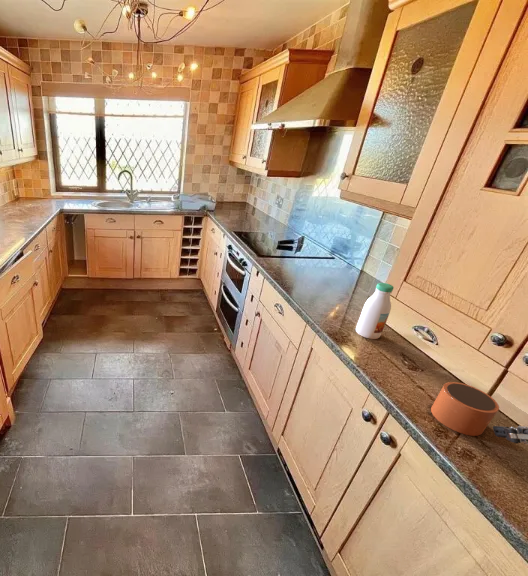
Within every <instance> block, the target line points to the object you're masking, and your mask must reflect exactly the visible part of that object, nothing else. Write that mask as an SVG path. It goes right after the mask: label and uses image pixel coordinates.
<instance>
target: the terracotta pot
mask: <svg viewBox="0 0 528 576" xmlns="http://www.w3.org/2000/svg"><path fill="white" fill-rule="evenodd" d="M499 410H500V405H499V404H498V402H497V401H496V400H495V398H493V397H492V396H491V395H489V394H488V393H486V392H485V391H483V390H481V389H479V388H477V387H475V386H472V385H470V384H467V383H462V382H456V381H449V382H446V383H444V384H443V386H442V387H441V389H440V391H439V393H438V395H437V396H436V398H435V400H434V402H433V403H432V405H431V407H430V411H431V414H432V416H433V417H434V418H435V419H436V420H437V421H438V422H439V423H441V424H442V425H443V426H445V427H446V428H449V429H450V430H452V431H454V432H457V433H459V434H461V435H466V436H470V437H471V436H473V437H475V436H477V437H478V436H480V435H482V434H483V433H484V432H485V430H486V429H487V427H488V426H489V425H490V424H491V422H492V420H493V419H494V417H495V416H496V415H497V413H498V412H499Z"/></svg>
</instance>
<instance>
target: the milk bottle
mask: <svg viewBox="0 0 528 576" xmlns="http://www.w3.org/2000/svg"><path fill="white" fill-rule="evenodd" d="M393 290H394V286H393V284H390V283H387V282H379V283H377V284H376V286H375V291H374V293H372V295H371V296H370V297H368V298H367V300H366V301H365V303H364V305H363V307H362V310H361V313H360V316H359V318H358V320H357V323H356V326H355V332H356V333H357V334H358V335H359V336H361V337H363V338H366V339H369V340H376V339H379V338H380V337H381V335H382V334H383V331H384V328H385V326H386V323H387V321H388V319H389V316H390V314H391V309H392V303H391V294H392V293H393Z"/></svg>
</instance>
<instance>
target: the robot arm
mask: <svg viewBox="0 0 528 576" xmlns="http://www.w3.org/2000/svg"><path fill="white" fill-rule="evenodd" d="M492 430H493V433H494V435H495V436H496V437H498V438H505V439H506V440H507V441H509V442H510V443H514V444H524V445H528V426H526V425H518V426H517V427H515V426H503V425H501V426H500V425H493V426H492Z"/></svg>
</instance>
